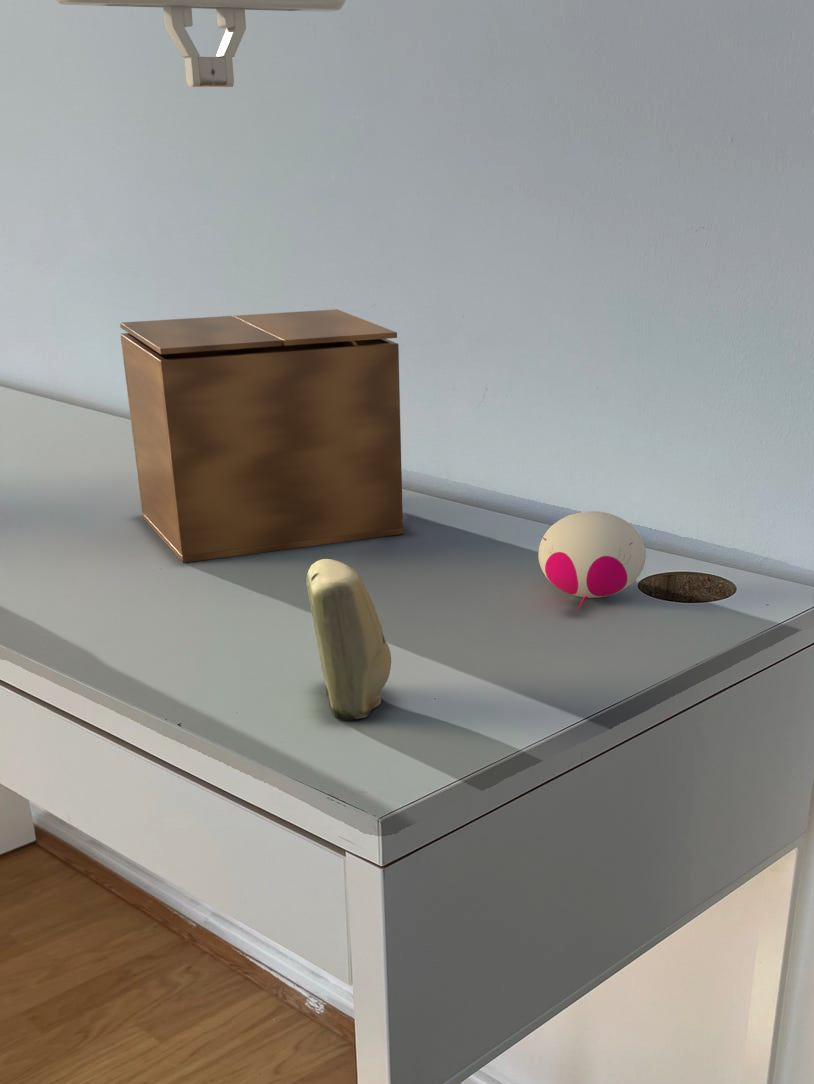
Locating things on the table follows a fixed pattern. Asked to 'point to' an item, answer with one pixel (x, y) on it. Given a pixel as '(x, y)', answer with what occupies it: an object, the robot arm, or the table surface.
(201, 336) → the flap
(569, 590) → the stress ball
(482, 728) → the table surface
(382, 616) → the table surface
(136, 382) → the carton
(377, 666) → the beige rounded stone
